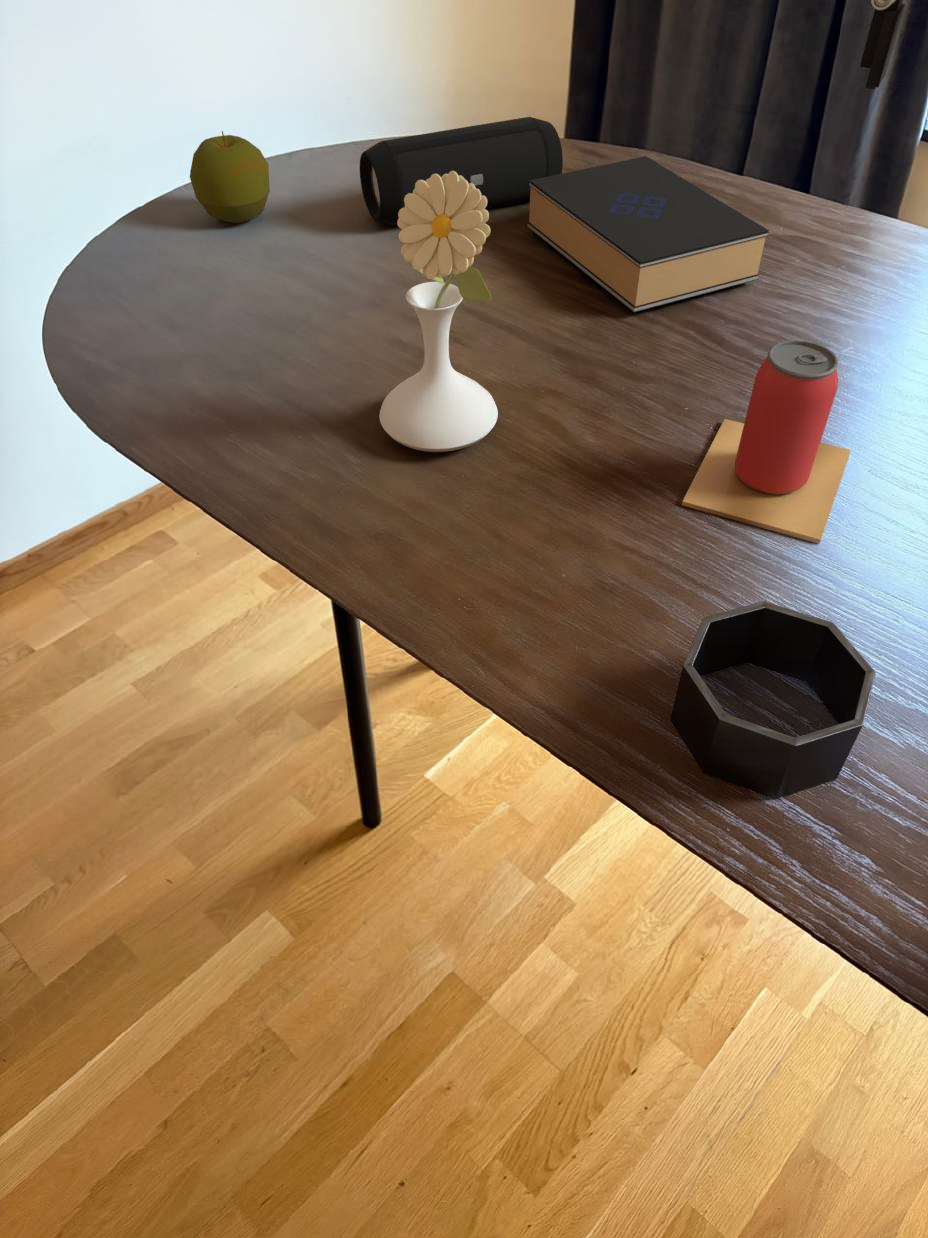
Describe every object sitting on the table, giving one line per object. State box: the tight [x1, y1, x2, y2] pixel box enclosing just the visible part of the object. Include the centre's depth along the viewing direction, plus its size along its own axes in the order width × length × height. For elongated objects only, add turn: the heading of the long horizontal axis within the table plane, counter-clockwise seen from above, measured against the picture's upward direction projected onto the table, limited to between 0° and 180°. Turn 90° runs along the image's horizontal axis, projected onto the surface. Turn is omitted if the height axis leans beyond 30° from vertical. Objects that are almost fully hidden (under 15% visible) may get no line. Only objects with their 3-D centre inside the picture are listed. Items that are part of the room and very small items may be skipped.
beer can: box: [735, 339, 839, 494], centre depth 80 cm, size 7×7×12 cm
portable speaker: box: [359, 116, 564, 226], centre depth 123 cm, size 26×10×10 cm, turn 113°
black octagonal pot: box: [669, 600, 876, 800], centre depth 64 cm, size 12×12×6 cm
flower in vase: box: [378, 171, 499, 453], centre depth 82 cm, size 13×11×25 cm
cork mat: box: [681, 418, 852, 545], centre depth 85 cm, size 12×14×1 cm
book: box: [526, 155, 770, 313], centre depth 113 cm, size 17×25×7 cm
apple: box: [189, 130, 271, 224], centre depth 121 cm, size 10×10×11 cm
